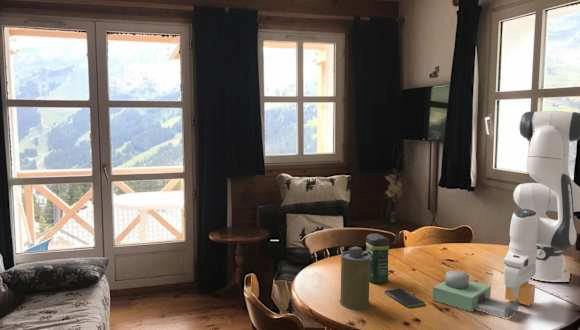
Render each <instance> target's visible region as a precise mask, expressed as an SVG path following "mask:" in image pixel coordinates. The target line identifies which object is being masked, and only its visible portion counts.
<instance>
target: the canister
mask: <svg viewBox="0 0 580 330" xmlns="http://www.w3.org/2000/svg"><path fill="white" fill-rule="evenodd" d="M370 258H371V255H370V254H369V252H367V250H366V251H365V250H363V248H362V247H359V246H357V245H356V246H353V247H349V248H348V251H343V252H341V253H340V259H341V260H340V299H339V304H340V305H341V306H343V308H346V309H353V310H360V309H361V310H362V309H363V310H364V309H366V308H368V307H369V306H370V281H369V279H370Z"/></svg>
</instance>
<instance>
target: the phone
mask: <svg viewBox="0 0 580 330" xmlns="http://www.w3.org/2000/svg"><path fill="white" fill-rule="evenodd" d="M383 293H384V295H385V296H387V297H389V298H391V299H392V300H393V301H395V302H397V303H399V304H400V305H401V306H403V307H404V308H406V307H407V308H408V309H412V307H413V308H417V307H418V306H419V307H423V305H424V306H425V305H426V302H425V301H424V300H422V299H420V298H418V297H417V296H415V295H413V294H411V292H408V291H406V290H405V289H403V288H393V289H388V290H387V289H386V290H384V292H383ZM419 307H418V308H419Z"/></svg>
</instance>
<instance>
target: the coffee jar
mask: <svg viewBox="0 0 580 330" xmlns="http://www.w3.org/2000/svg"><path fill="white" fill-rule="evenodd" d="M365 244H366V252H369V254H370V255H371V258H370V279H369V282H371V283H373V284H385V283H387V282H388V281H389V249H390V239H389V238H388V237H386V236H384V235H381V234H379V233H369V234H367V236H366V240H365Z"/></svg>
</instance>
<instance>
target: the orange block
mask: <svg viewBox="0 0 580 330" xmlns="http://www.w3.org/2000/svg"><path fill="white" fill-rule="evenodd" d="M519 291H520V296H519V297H514V296H513V289H512V288H508V287H506V286H505V295H504V299H505V300H508V301H512V302H513V301H515V300H516V299H517V300H519V304H521V305H526V306H531V305H532V304H533V303H534V302H535V295H536V294H535V291H536V284H531V283H529V282H528V283H524V284H522V285H521V286H520V288H519Z"/></svg>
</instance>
